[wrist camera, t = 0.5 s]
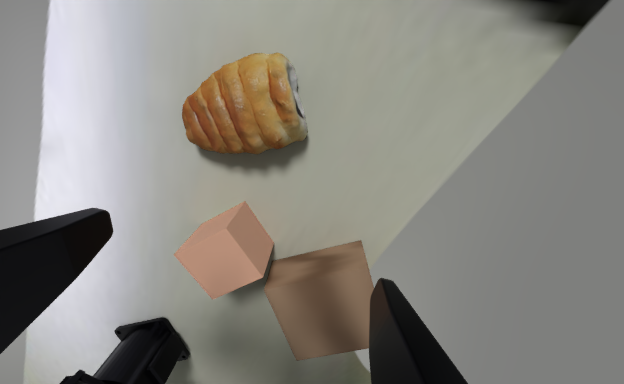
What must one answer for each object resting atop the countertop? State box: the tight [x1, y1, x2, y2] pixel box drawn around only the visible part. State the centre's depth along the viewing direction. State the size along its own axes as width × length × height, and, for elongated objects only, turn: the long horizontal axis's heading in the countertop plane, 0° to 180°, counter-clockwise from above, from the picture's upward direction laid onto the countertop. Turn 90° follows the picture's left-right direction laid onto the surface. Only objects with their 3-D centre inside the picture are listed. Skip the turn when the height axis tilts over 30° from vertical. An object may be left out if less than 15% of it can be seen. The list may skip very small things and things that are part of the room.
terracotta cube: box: [174, 201, 274, 299], centre depth 22 cm, size 5×5×5 cm
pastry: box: [182, 53, 308, 154], centre depth 18 cm, size 9×7×4 cm
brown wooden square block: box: [264, 240, 374, 361], centre depth 24 cm, size 9×9×4 cm
